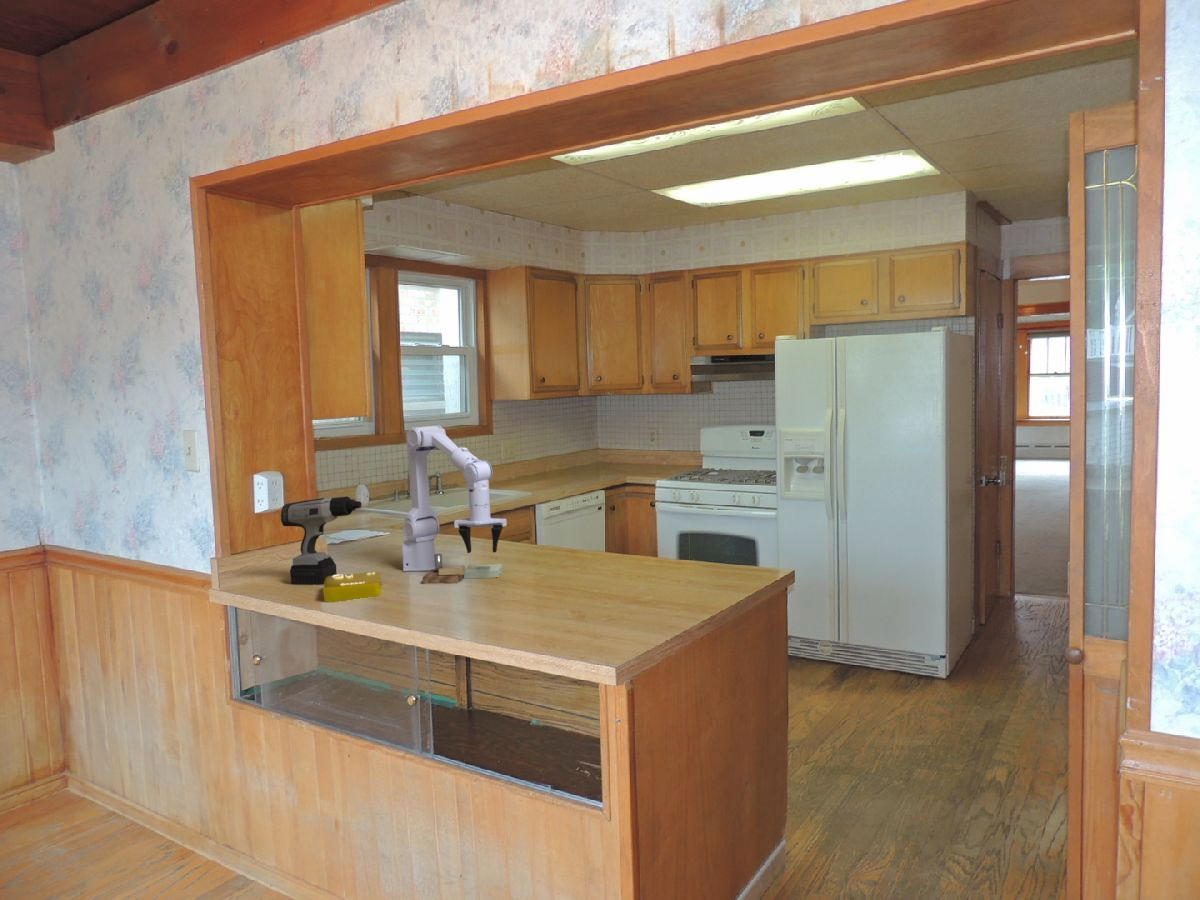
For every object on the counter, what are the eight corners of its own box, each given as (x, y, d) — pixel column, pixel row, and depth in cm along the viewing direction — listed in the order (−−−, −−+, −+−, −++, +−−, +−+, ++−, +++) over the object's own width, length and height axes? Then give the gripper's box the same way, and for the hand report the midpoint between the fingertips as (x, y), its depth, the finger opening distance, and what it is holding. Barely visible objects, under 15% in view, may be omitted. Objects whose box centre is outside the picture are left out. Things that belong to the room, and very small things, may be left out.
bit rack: (464, 578, 247) (463, 571, 247) (469, 571, 255) (469, 565, 255) (498, 577, 247) (498, 570, 247) (503, 570, 255) (502, 564, 254)
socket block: (423, 583, 243) (422, 577, 242) (431, 576, 252) (430, 569, 251) (458, 583, 242) (457, 576, 242) (464, 575, 251) (464, 568, 251)
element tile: (323, 604, 226) (322, 586, 226) (326, 591, 241) (325, 574, 240) (382, 598, 230) (381, 581, 230) (381, 585, 244) (380, 569, 244)
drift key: (438, 575, 242) (438, 568, 242) (440, 573, 245) (440, 566, 245) (463, 574, 242) (463, 567, 242) (465, 572, 244) (464, 565, 244)
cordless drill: (359, 585, 244) (353, 498, 241) (281, 584, 249) (274, 499, 246) (371, 578, 251) (366, 494, 249) (296, 577, 256) (289, 495, 254)
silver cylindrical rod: (434, 579, 248) (433, 555, 247) (436, 577, 250) (435, 553, 249) (442, 579, 248) (440, 555, 247) (443, 577, 250) (442, 553, 249)
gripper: (450, 507, 237) (453, 555, 239) (502, 505, 236) (505, 554, 238) (456, 503, 244) (459, 550, 246) (507, 501, 243) (509, 549, 245)
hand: (482, 552), depth 242 cm, fingers open, 7 cm apart
